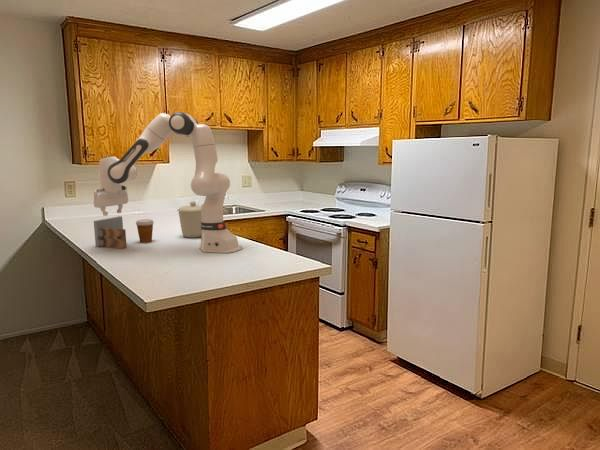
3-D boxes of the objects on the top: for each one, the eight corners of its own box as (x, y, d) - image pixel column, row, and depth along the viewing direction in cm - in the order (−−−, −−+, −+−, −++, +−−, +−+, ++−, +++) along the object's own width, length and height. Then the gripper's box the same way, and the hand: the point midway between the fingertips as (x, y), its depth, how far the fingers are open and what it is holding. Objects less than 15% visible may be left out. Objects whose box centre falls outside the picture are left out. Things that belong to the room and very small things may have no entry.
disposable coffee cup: (136, 243, 247) (134, 222, 245) (137, 240, 256) (136, 219, 254) (154, 242, 250) (153, 221, 248) (155, 239, 259) (153, 218, 257)
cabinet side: (128, 241, 254) (126, 216, 252) (103, 247, 238) (101, 221, 235) (121, 240, 256) (119, 216, 254) (95, 246, 240) (93, 220, 237)
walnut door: (126, 247, 237) (125, 229, 235) (121, 249, 233) (119, 230, 232) (106, 245, 242) (105, 227, 241) (101, 247, 239) (99, 228, 237)
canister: (202, 239, 257) (200, 203, 253) (173, 238, 261) (171, 202, 257) (214, 234, 274) (213, 199, 271) (186, 233, 278) (185, 199, 274)
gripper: (98, 189, 222) (101, 217, 225) (129, 186, 241) (131, 211, 243) (89, 189, 225) (91, 216, 227) (120, 186, 243) (122, 211, 246)
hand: (112, 214), depth 235 cm, fingers open, 8 cm apart
